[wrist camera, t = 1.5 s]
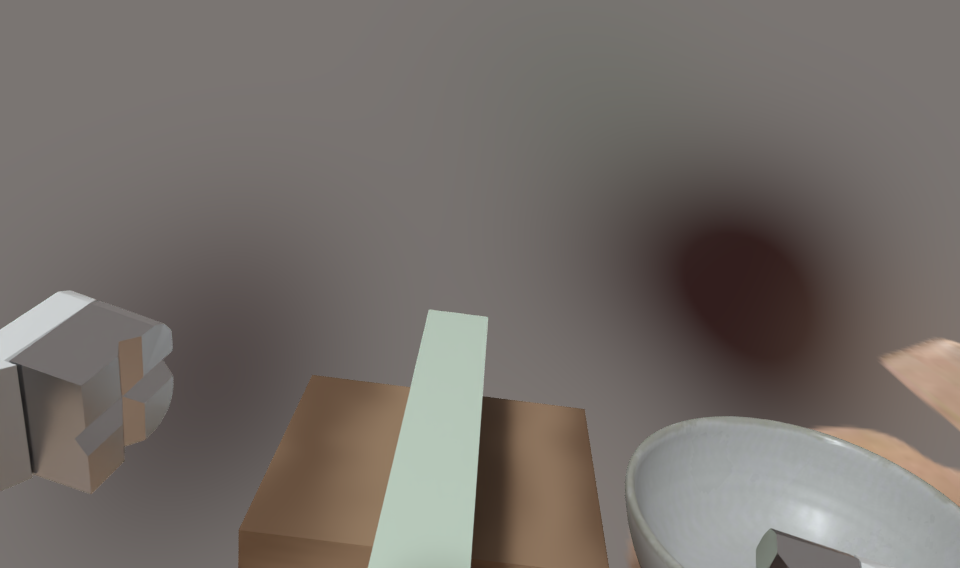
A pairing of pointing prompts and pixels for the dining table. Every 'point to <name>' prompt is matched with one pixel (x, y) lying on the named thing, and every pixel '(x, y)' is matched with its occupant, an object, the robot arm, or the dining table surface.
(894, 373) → the dining table surface
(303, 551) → the wood grain block
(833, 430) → the dining table surface
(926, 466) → the dining table surface
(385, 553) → the sage block
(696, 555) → the decorative bowl
